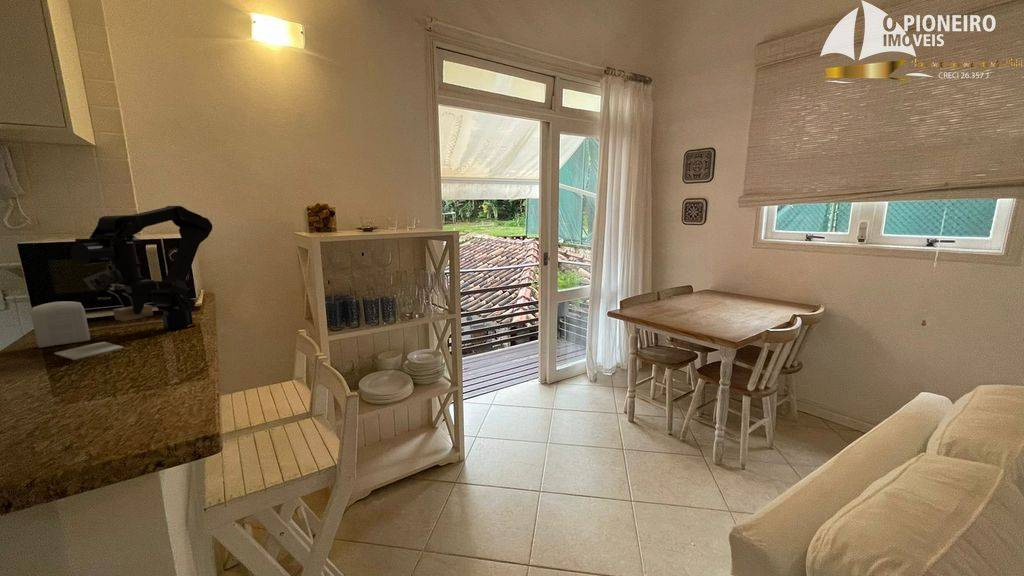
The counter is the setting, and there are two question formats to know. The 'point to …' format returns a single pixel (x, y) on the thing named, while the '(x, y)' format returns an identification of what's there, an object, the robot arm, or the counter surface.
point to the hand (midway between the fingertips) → (133, 313)
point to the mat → (88, 350)
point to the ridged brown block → (131, 313)
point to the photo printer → (60, 323)
